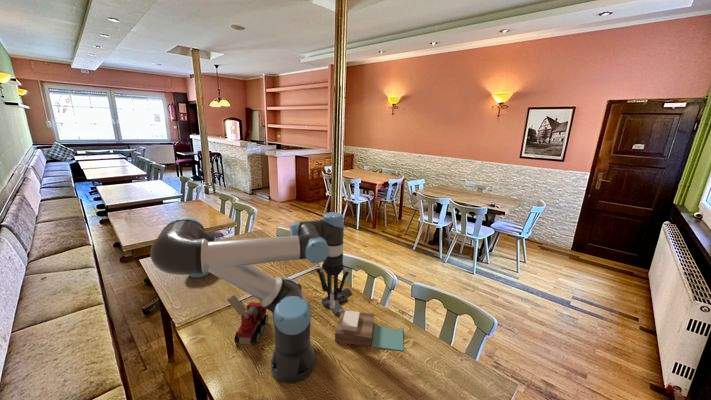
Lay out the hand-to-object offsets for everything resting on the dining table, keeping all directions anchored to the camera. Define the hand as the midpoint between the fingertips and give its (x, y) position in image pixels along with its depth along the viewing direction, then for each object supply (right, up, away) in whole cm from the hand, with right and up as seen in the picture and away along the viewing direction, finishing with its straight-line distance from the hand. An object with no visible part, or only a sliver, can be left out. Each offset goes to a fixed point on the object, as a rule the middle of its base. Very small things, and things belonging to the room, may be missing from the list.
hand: (332, 306), depth 115 cm
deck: (+9, -11, +1) cm, 14 cm away
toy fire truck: (-33, -10, -1) cm, 35 cm away
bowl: (-74, +3, +39) cm, 84 cm away
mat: (+22, -12, -1) cm, 25 cm away
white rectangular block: (+7, -7, +1) cm, 10 cm away
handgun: (+3, -6, +20) cm, 21 cm away
